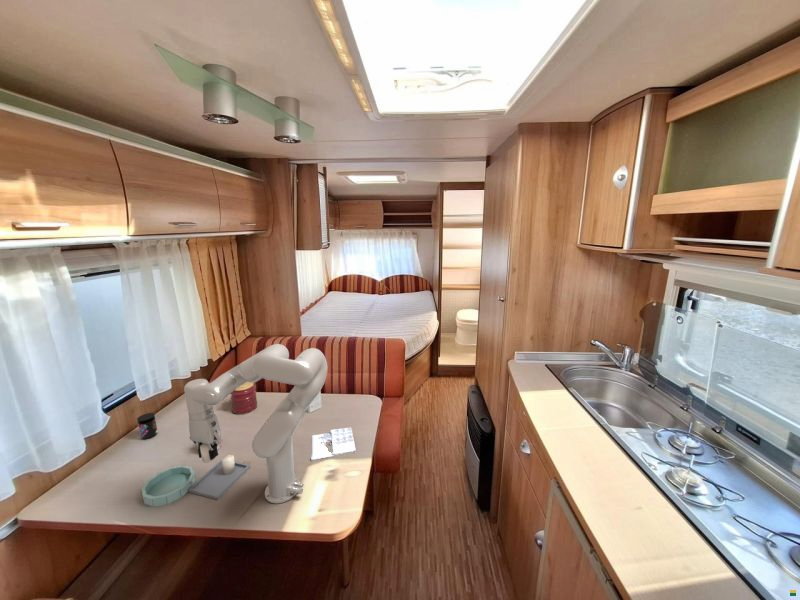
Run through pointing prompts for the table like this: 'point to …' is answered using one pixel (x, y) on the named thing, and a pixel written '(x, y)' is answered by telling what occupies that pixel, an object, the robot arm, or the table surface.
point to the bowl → (168, 485)
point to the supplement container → (147, 426)
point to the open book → (340, 443)
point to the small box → (315, 403)
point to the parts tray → (217, 480)
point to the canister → (244, 398)
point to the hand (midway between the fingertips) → (208, 456)
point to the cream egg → (205, 452)
